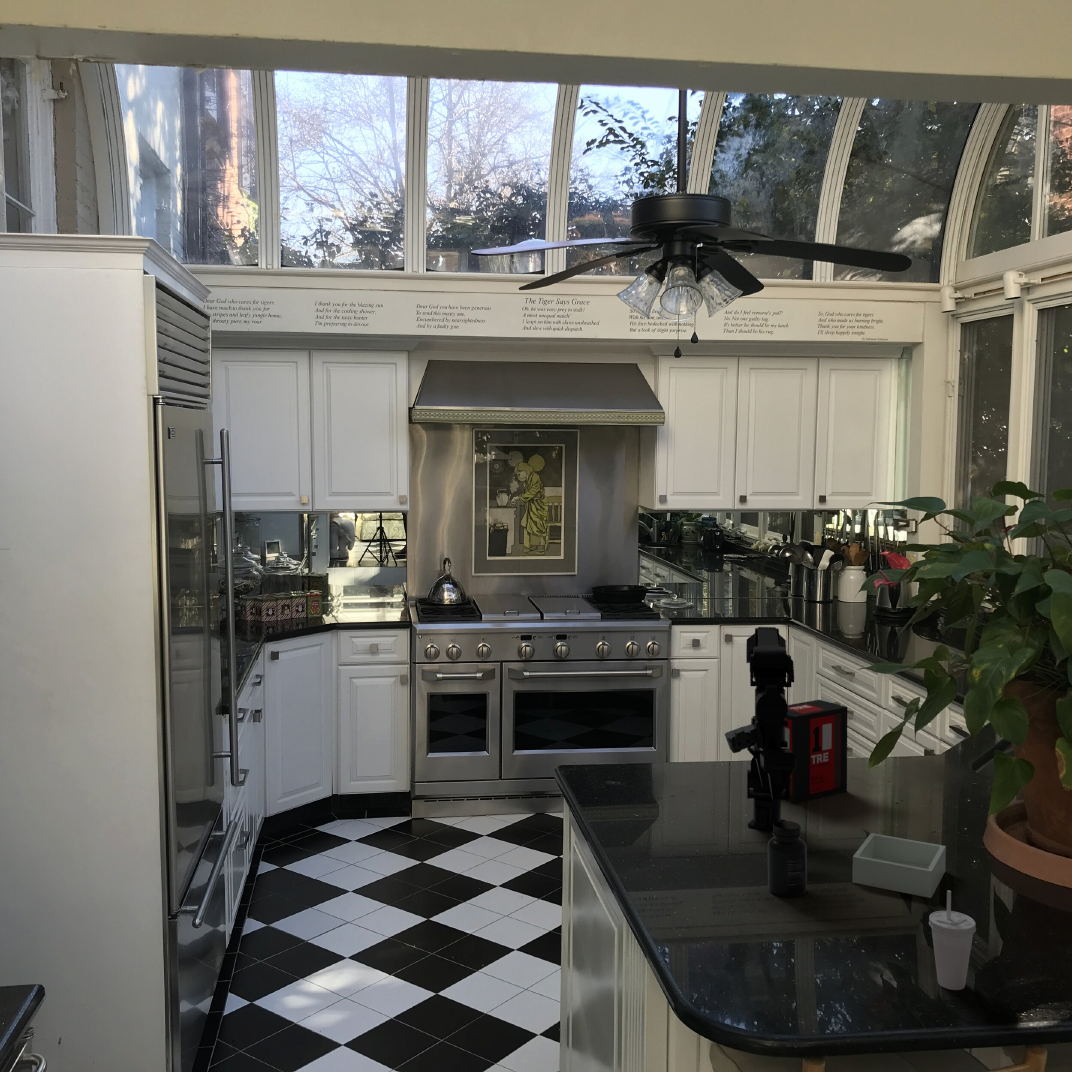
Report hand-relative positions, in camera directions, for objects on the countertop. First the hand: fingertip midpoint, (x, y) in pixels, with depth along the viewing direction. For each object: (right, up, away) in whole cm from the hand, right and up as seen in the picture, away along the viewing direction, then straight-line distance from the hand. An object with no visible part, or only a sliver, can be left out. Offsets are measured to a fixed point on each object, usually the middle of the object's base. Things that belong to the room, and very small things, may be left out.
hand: (770, 793), depth 197 cm
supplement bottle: (0, -14, -15) cm, 20 cm away
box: (+22, -13, -9) cm, 27 cm away
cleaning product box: (+17, -10, +39) cm, 44 cm away
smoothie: (+16, -16, -48) cm, 53 cm away
